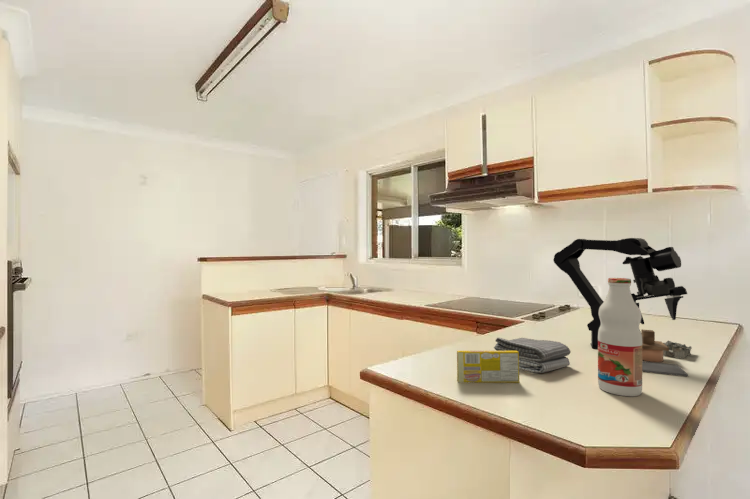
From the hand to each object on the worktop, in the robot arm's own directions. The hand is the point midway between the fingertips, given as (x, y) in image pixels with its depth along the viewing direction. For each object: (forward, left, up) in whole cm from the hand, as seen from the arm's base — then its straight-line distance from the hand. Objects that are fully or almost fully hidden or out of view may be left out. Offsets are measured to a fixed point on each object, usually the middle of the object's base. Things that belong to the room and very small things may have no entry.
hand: (658, 322), depth 124 cm
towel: (-37, -22, -12) cm, 45 cm away
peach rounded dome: (-3, 0, -12) cm, 12 cm away
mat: (-2, -12, -12) cm, 17 cm away
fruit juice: (-16, -37, -12) cm, 42 cm away
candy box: (-47, -44, -12) cm, 66 cm away
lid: (-3, 0, -8) cm, 9 cm away
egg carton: (+6, +10, -12) cm, 17 cm away
